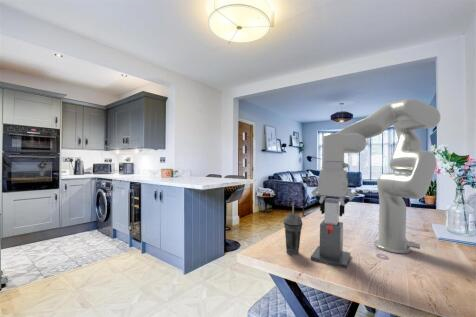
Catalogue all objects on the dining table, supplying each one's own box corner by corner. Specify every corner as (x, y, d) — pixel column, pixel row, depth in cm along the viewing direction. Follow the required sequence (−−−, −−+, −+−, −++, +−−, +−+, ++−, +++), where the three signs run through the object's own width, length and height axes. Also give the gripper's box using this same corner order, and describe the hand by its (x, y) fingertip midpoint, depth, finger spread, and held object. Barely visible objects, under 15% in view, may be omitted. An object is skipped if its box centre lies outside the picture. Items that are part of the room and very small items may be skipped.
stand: (350, 255, 89) (351, 222, 89) (346, 268, 79) (347, 230, 78) (318, 248, 95) (318, 217, 95) (310, 259, 85) (311, 224, 85)
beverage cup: (302, 250, 93) (303, 200, 93) (301, 257, 87) (302, 204, 86) (284, 247, 96) (285, 199, 96) (281, 254, 89) (282, 202, 89)
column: (338, 253, 88) (339, 199, 87) (336, 257, 84) (337, 201, 84) (325, 250, 90) (327, 197, 90) (323, 254, 86) (324, 199, 86)
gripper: (359, 166, 85) (358, 215, 85) (311, 165, 94) (311, 209, 94) (358, 167, 79) (356, 220, 79) (307, 165, 88) (306, 213, 88)
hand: (331, 214), depth 87 cm, fingers open, 5 cm apart
